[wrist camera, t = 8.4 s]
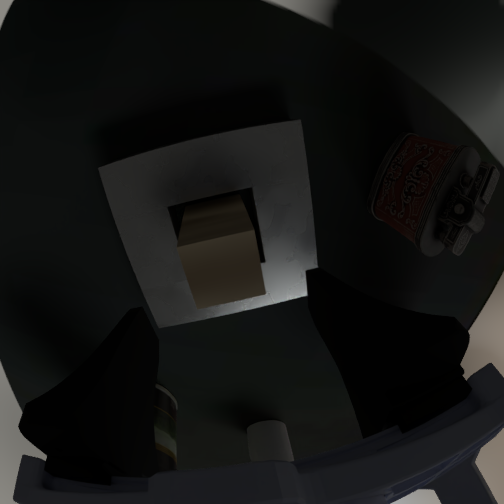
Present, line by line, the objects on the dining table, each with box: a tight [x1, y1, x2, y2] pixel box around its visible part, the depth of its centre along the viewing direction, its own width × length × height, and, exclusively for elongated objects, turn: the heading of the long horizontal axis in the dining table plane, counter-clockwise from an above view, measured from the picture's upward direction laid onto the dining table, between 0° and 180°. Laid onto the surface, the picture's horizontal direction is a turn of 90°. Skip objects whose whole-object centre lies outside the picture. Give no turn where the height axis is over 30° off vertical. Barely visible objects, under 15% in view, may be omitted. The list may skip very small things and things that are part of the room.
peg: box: [177, 194, 266, 309], centre depth 19 cm, size 4×4×7 cm
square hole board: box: [98, 119, 317, 328], centre depth 20 cm, size 13×13×2 cm
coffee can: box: [154, 383, 177, 472], centre depth 23 cm, size 10×10×14 cm
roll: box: [247, 420, 294, 462], centre depth 30 cm, size 6×12×6 cm
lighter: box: [367, 132, 499, 257], centre depth 17 cm, size 8×3×10 cm, turn 156°
